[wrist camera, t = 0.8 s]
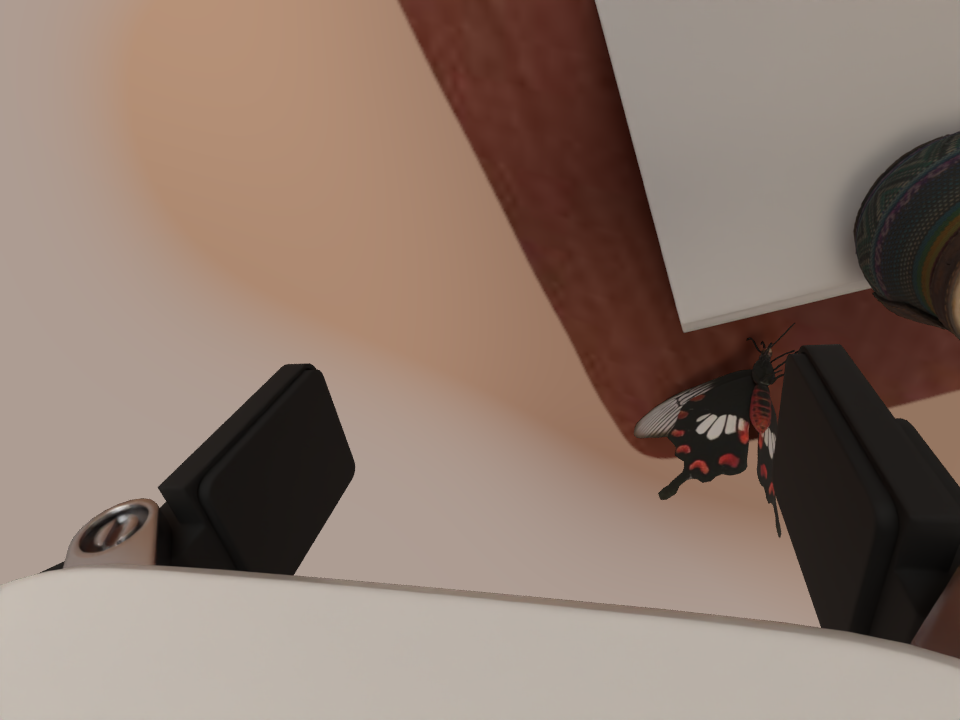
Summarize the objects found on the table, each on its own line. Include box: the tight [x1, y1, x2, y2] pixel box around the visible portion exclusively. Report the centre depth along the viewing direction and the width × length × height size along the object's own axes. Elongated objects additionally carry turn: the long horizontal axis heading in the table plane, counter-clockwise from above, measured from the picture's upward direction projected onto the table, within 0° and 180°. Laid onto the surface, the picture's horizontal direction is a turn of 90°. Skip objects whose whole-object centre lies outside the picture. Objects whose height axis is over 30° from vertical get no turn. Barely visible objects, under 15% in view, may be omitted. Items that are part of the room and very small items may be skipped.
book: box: [595, 0, 960, 333], centre depth 21 cm, size 18×4×24 cm
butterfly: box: [634, 323, 798, 537], centre depth 30 cm, size 11×8×10 cm
